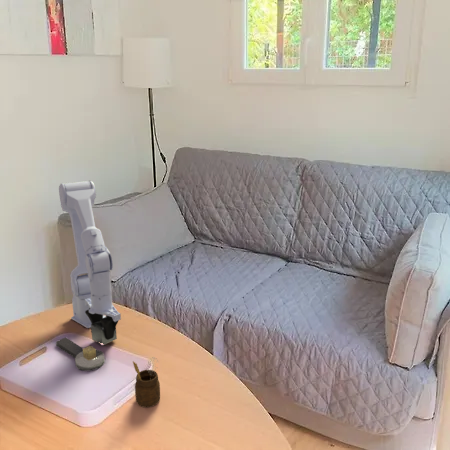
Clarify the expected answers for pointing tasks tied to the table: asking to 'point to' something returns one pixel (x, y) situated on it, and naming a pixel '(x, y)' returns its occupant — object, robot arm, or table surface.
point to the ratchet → (82, 355)
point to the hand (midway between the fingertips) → (104, 334)
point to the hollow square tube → (100, 333)
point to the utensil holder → (147, 387)
